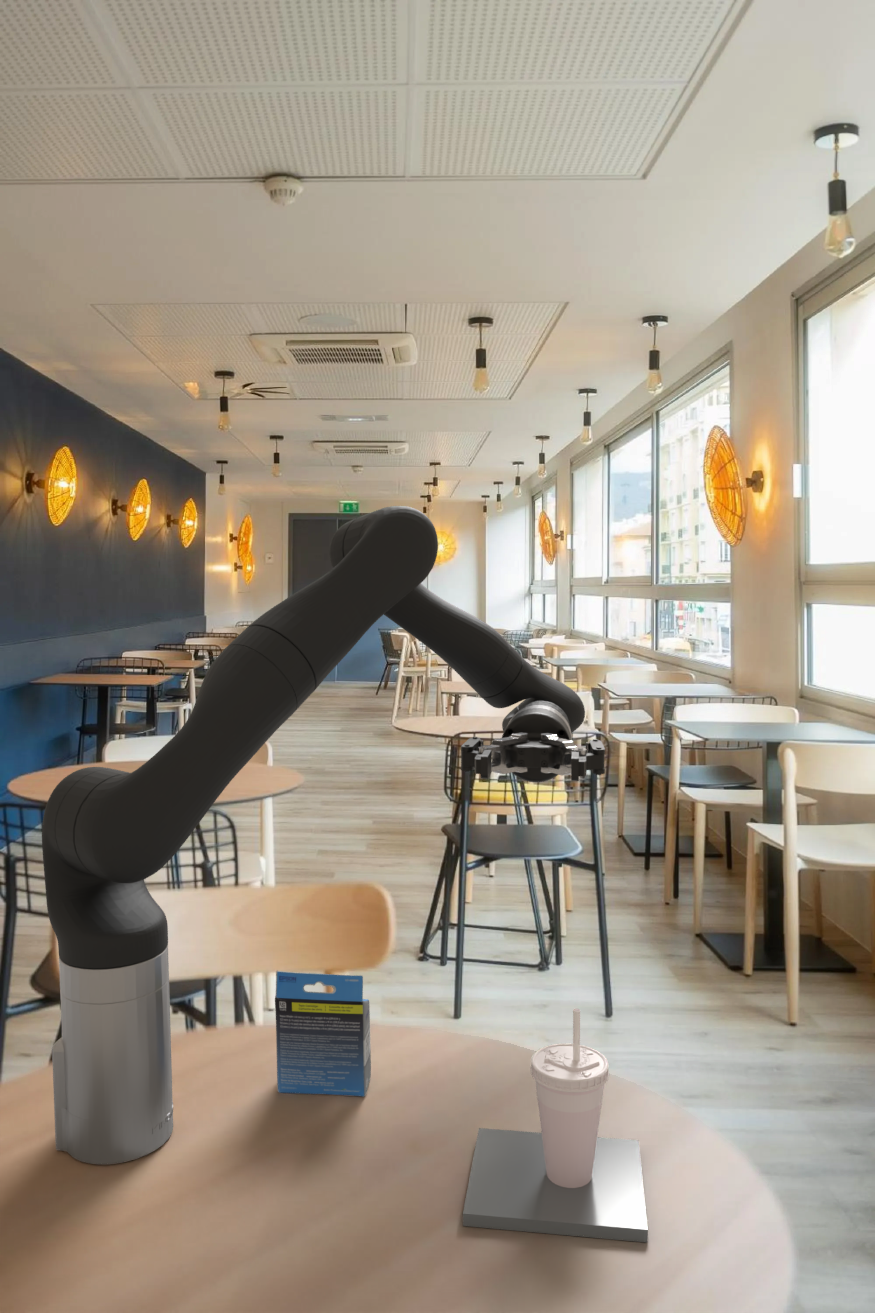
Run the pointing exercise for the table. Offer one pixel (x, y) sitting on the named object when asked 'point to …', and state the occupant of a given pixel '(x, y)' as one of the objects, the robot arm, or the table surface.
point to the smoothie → (569, 1106)
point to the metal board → (555, 1189)
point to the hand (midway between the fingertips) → (529, 769)
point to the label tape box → (322, 1035)
